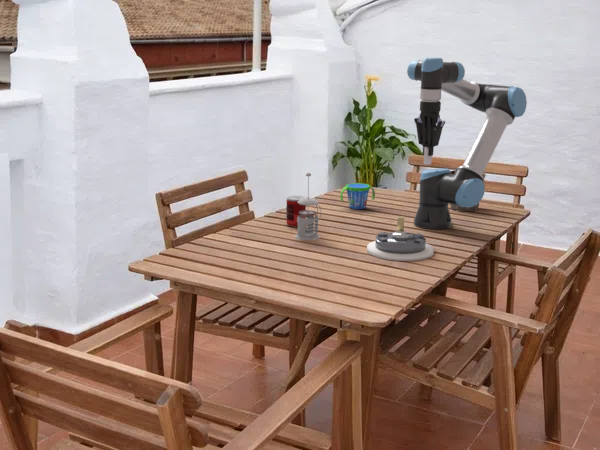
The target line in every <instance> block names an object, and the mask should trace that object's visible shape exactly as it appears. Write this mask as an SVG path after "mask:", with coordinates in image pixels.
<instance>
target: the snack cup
mask: <svg viewBox="0 0 600 450" xmlns="http://www.w3.org/2000/svg"><path fill="white" fill-rule="evenodd" d="M370 189H371V190H372V193H371V194H372V196H371V199H372V201H373V200H375V197H376V192H375V189H374V188H373V186H370V184H368V183H360V182H359V183H358V182H354V183H348V184H346V185H345V187H343V188H342V190H341V191H340V196H339V198H340V200H341V202H344V196H343V193H344V192H345V190H346V193H347V201H348V208H350V209H352V210H365V208H367V202H368V198H369V193H370Z"/></svg>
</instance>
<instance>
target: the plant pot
mask: <svg viewBox="0 0 600 450" xmlns="http://www.w3.org/2000/svg"><path fill="white" fill-rule="evenodd" d="M455 171H456V169H455V170H450V174H454V173H455ZM482 176H483V179H484V181H485V177H486V176H487V175H486V173H485V172H483V174H482ZM484 181H483V183H484V184H485V182H484ZM479 206H480V202H479V203H478V204H477V205H475V206H473V207H461V206H458V205H454V204H450V208H451V209H452V210H454V211H458V212H467V211H468V212H476V211H478V210H479V208H480V207H479Z"/></svg>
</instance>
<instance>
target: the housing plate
mask: <svg viewBox="0 0 600 450" xmlns="http://www.w3.org/2000/svg"><path fill="white" fill-rule="evenodd" d="M375 243H376V240H374V241H370V242H369V243H368V244H367V245H366V252H367V253H368V254H369V255H371V256H372V257H375V258H378V259H383V260H388V261H396V262H397V261H398V262H411V261H413V262H414V261H421V260H422V261H423V260H426V259H429V258H431V257H433V256H434V255H435V253H434V252H435V251H434V247H433V246H432V245H430V244H429V243H426V246H425V250H423V251H421V252H417V253H408V254H400V253H390V252H385V251H382V250H379V249H377V248H376V246H375Z"/></svg>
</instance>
